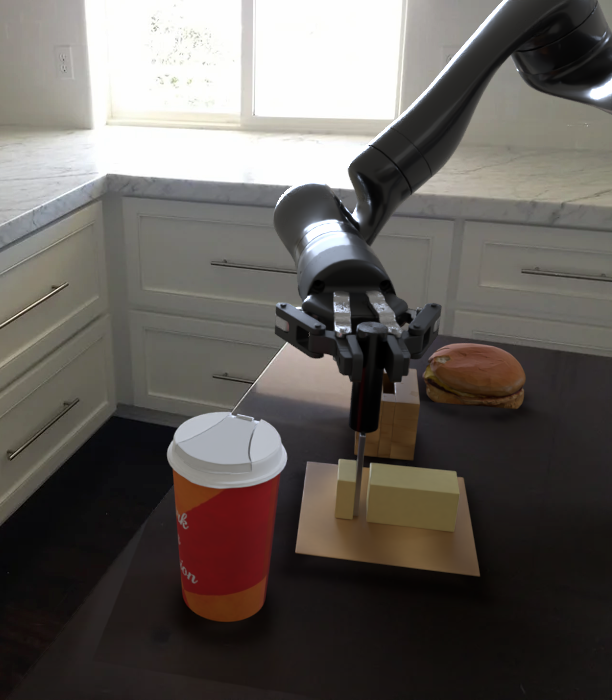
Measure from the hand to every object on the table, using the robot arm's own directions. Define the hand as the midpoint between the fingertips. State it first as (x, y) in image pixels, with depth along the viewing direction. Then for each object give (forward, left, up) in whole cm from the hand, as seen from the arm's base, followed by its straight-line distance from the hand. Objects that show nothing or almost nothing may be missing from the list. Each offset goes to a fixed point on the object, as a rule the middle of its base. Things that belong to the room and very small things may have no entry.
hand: (377, 370), depth 61 cm
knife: (+1, -3, -13) cm, 14 cm away
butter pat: (+1, -3, -14) cm, 14 cm away
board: (-2, -3, -15) cm, 16 cm away
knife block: (-2, -15, -15) cm, 21 cm away
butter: (-4, -3, -14) cm, 14 cm away
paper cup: (+9, +9, -15) cm, 20 cm away
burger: (-11, -28, -15) cm, 34 cm away
